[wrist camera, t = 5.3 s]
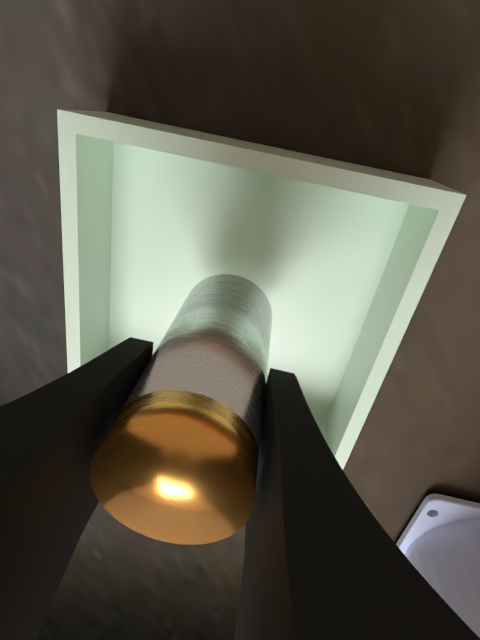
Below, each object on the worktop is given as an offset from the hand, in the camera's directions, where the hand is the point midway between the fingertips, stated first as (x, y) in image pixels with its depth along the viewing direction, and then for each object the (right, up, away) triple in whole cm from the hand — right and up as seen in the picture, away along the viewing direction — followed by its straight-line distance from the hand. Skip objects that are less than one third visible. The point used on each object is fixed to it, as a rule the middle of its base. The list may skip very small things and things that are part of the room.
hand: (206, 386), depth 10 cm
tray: (+1, +3, +5) cm, 6 cm away
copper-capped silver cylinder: (+1, +2, +3) cm, 4 cm away
